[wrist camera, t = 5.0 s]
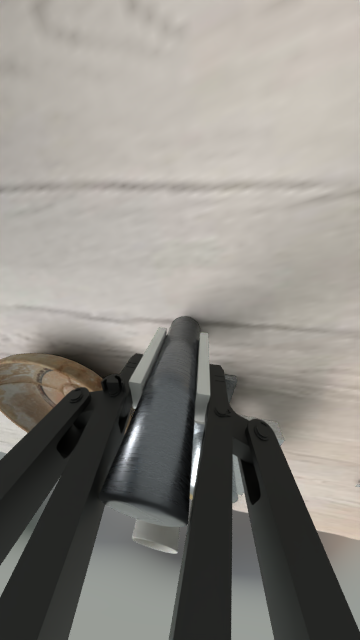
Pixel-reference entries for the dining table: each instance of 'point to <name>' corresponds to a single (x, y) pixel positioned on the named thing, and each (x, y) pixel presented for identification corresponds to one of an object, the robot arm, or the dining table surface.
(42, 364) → the ceramic bowl
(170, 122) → the dining table surface
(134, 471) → the pin
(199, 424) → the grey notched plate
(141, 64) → the dining table surface
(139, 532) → the coffee mug
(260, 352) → the dining table surface
